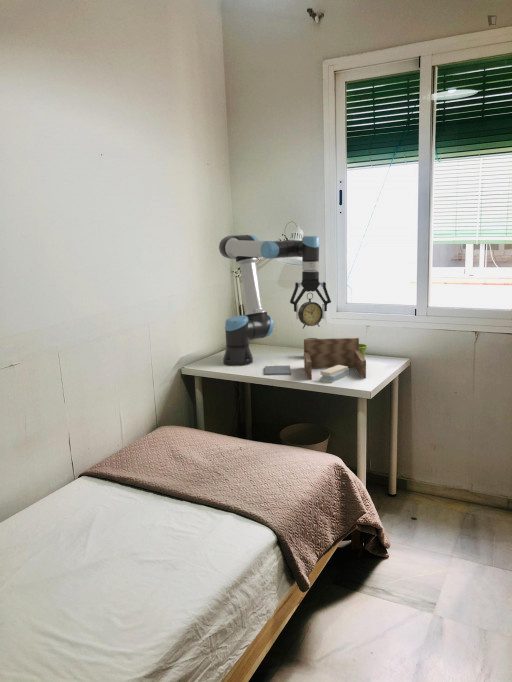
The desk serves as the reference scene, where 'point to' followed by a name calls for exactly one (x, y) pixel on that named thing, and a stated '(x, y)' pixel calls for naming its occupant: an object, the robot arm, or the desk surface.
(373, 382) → the desk surface
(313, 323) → the alarm clock
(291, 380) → the desk surface
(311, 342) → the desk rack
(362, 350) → the plant pot
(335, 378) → the book stack
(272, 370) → the mat
